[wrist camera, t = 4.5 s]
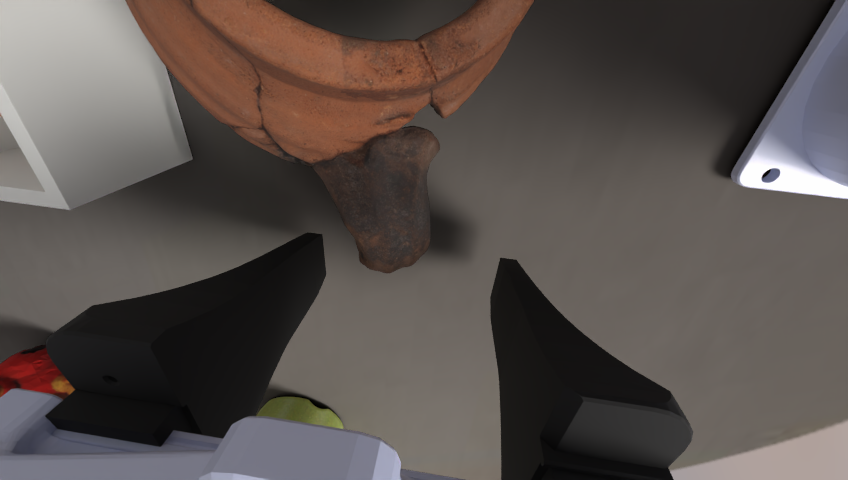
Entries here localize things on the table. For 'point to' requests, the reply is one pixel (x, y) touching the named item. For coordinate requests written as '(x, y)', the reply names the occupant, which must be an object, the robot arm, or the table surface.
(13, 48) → the white square open box
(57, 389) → the red clay folk toy
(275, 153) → the brown hollow curved piece
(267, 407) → the plant pot
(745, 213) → the table surface
